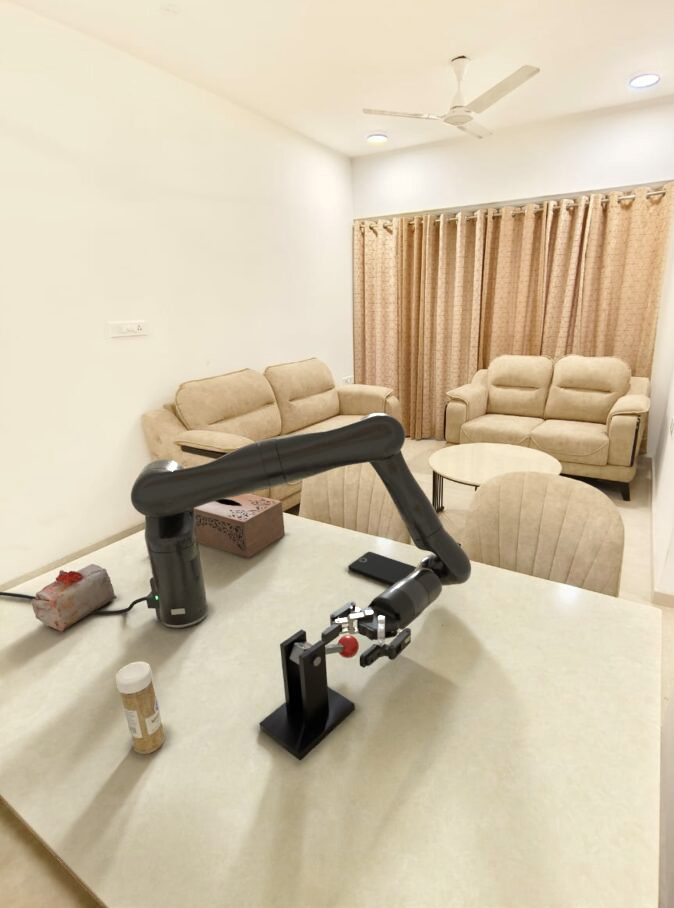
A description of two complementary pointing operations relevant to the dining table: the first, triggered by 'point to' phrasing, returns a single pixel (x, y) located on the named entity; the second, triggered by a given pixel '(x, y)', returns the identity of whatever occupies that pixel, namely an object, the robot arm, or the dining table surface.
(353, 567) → the cell phone
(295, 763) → the dining table surface
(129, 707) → the sprinkles bottle
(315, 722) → the bracket
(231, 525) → the tissue box cover
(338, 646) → the lever
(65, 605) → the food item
